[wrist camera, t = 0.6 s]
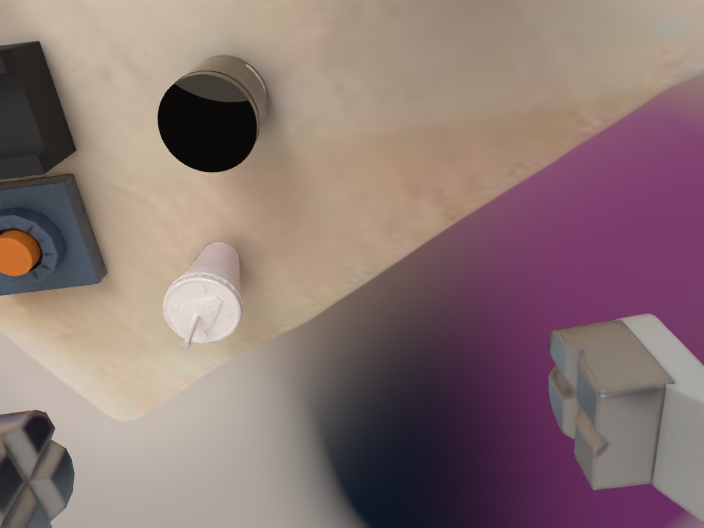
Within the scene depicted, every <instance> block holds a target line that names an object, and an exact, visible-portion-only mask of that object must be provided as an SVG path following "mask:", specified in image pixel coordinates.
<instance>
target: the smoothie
mask: <svg viewBox="0 0 704 528" xmlns="http://www.w3.org/2000/svg"><path fill="white" fill-rule="evenodd" d="M242 312H243V305H242V300H241V297H240V295H239V255H238V253H237V251H236V250H235V249H234V248H233V247H232V246H231V245H229V244H227V243H224V242H213V243H211V244H209V245H207V246H206V247H205V248H204V249H203V250H202V252H201V253H200V254H199V255H198V257H197V258H196V259H195V261H194V262H193V263H192V264H191V266H190V267H189V268H188V269H187V271H186V272H185V273H184V275H183V276H182V277H180V278H178V279H176V280H175V281H174V282H173V283H172V284H171V285H170V286H169V288H168V290H167V292H166V294H165V298H164V301H163V315H164V318H165V320H166V322H167V324H168V325H169V327H170V328H171V329H172V330H173V331H174V332H175V333H176V334H178V335H179V336H181V337H182V338H184V342H183V344H182V348H183V349H189V347H190V344H191V341H192V342H197V343H213V342H217V341H220V340H223V339H225V338H226V337H228V336H229V335H231V334H232V333H233V332H234V331H235V329H236V328H237V326H238V324H239V321H240V319H241V316H242Z"/></svg>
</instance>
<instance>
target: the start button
mask: <svg viewBox="0 0 704 528" xmlns="http://www.w3.org/2000/svg"><path fill="white" fill-rule="evenodd" d="M40 256H41V250H40V247H39V244H38V243H37V241H36V240H35V239H34V238H33V237H32V236H30V235H29V234H27V233H25V232H22V231H18V230H10V231H6V232H4V233H3V234H1V235H0V272H1V273H3V274H6V275H9V276H20V275H23V274H26V273H27V272H28V271H29V270H30V269H31V268H32V267H33V266H34V265H35V264H36V263H37V262H38V261H39V259H40Z"/></svg>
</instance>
